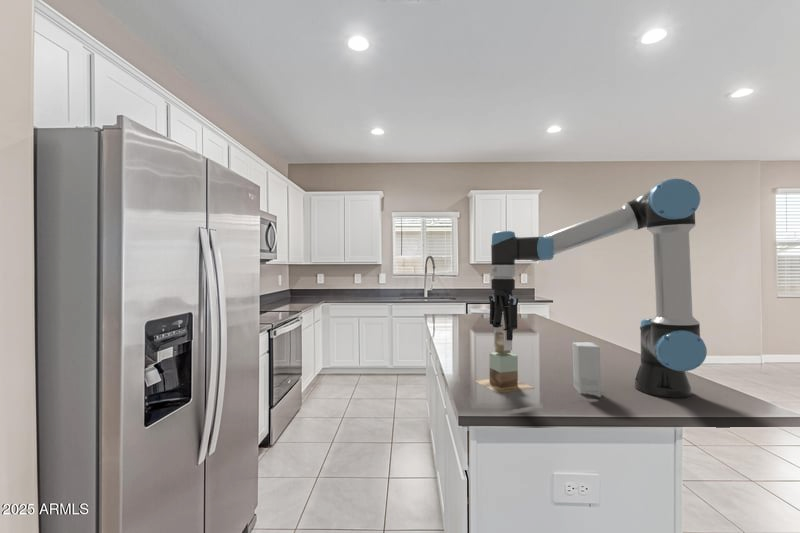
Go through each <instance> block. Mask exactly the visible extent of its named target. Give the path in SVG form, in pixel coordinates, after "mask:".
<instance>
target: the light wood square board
mask: <svg viewBox="0 0 800 533" xmlns="http://www.w3.org/2000/svg"><path fill="white" fill-rule="evenodd" d="M474 382H476V383H478V384H479V385H481V386H483V387H485V388H487V389H488V390H490V391H492V392H494V393H496V394H500V393H507V392H509V393H510V392H515V391H516V392H517V391H525V390H531V389H532V390H533V389H535V387H533V386H531V385H528V384H526V383H524V382H522V381H519V380H518V386H514V387H506V388H499V387H497V386H495V385H493V384H491V383H490V378H486V379H477V380H474Z"/></svg>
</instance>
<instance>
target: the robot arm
mask: <svg viewBox="0 0 800 533" xmlns="http://www.w3.org/2000/svg"><path fill="white" fill-rule="evenodd" d="M700 204H701V194H700V192H699V189H698V188H697V187H696V185H694V184H693V183H692V182H690V181H689V180H687V179H684V178H670V179H669V178H668V179H666V180H663V181H660V182H658V183H657V184H655V185H654V186H653V187H652V188H650V189H649V190H647V191H646V192H645V193H643V194H641V195H640V196H638V197H637V198H635V199H632V200H630V201H627V202H625V203H624V204H623V206H622V207H619V208H617V209H613V210H612V211H608V212H606V213H603V214H601V215H597V216H595V217H592V218H589V219H587V220H583V221H581V222H578V223H575V224H572V225H570V226H567V227H565V228H562V229H559V230H556V231H553V232H550V233H548V234H545V235H543V236H528V237H527V236H525V237H523V236H522V237H519V236H516V234H515V231H512V230H511V231H510V230H509V231H508V230H507V231H506V230H505V231H504V230H502V231H501V230H500V231H498V230H497V231H494V232H493V233H492V234H491V245H490V247H491V249H490V250H491V277H492V279H491V280H490V281H491V290H493V291H494V292H493V295H489V296H488V300H489V324H490V325H492V327H493V347H494V348H495V333H499V332H503V333H504V350H505V351H506V350H511V351H513V338H514V334H513V331H514V330H517V329H518V305H519V298H516V297H514V296H513V292H512V291H515V289H516V281H515V279H514V278H515V277H516V270H515V269H516V263H515V262H516V261H532V262H538V261H551V260H553V259H554V255H557V254H561V253H563V252H566V251H570V250H572V249H573V250H574V249H575V248H578V247H581V246H584V245H586V244H587V245H588V244H590V243H593V242H595V241H599V240H602V239H604V238H607V237H610V236H613V235H617V234H620V233H623V232H625V231H628V230H634V231H638V230H641V229H644V228H646V230H647V231H649V232H650V233H651V234H652V235H653V237H652V238H653V241H652V242H653V258H654V259H653V260H654V261H653V262H654V283H655V285H654V286H655V288H654V289H655V309H656V311H655V312H656V313H655V314H656V315H655V316H654V317H653V318H643V319H641V321H640V326H639V330H640V365H639V368H638V370H637V373H636V376H635V378H634V388H635V389H636V390H637V391H640V392H642V393H645V394H649V395H653V396H657V397H658V396H659V397H662V398H663V397H664V398H675V399H677V398H681V399H682V398H688V397H690V396H692V386H691V385H690V381H689V378H688V376H687V373H686V372H689V371H693V370H695V369H697V368H698V367H700V366H701V365H703V363H704V362H705V360H706V357H707V354H708V353H707V352H708V351H707V346H706V343H705V342H704V340H703V338H702V337H701V329H700V328H701V327H700V326H701V325H700V322H699V320H698V319H697V318H695V317H694V316H693V299H692V297H693V296H692V292H693V291H692V271H691V270H692V269H691V250H690V249H691V248H690V247H691V246H690V231H691V230H692V229H694V227H695V226H696V213H695V212H696V211H697V210H698V208H699V206H700ZM502 319H503V321H504V328H503V324H502Z"/></svg>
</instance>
